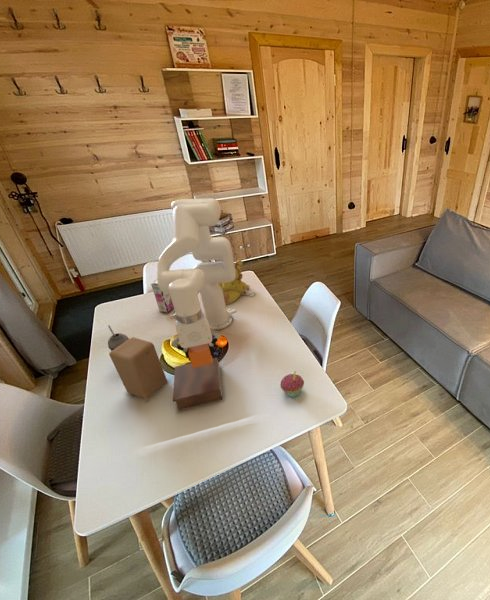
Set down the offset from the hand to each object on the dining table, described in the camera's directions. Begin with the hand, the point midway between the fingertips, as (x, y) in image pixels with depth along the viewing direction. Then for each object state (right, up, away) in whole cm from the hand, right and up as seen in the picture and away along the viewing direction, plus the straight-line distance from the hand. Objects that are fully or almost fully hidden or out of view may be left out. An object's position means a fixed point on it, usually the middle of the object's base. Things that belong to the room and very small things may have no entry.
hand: (201, 355), depth 119 cm
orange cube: (0, -2, +1) cm, 2 cm away
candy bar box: (-40, +16, +53) cm, 68 cm away
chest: (-3, -14, +7) cm, 16 cm away
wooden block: (-23, -14, +7) cm, 28 cm away
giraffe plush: (-13, +23, +64) cm, 69 cm away
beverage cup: (-37, -7, +17) cm, 41 cm away
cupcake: (+31, -15, +7) cm, 36 cm away
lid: (-4, -9, +4) cm, 11 cm away
